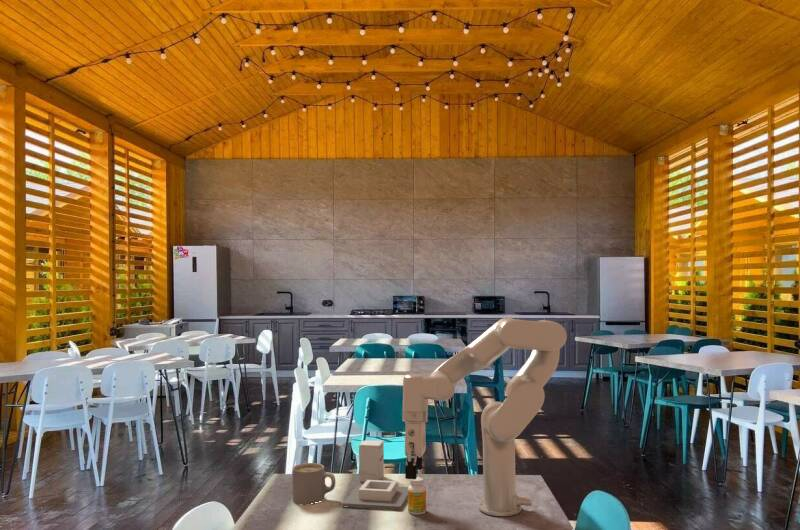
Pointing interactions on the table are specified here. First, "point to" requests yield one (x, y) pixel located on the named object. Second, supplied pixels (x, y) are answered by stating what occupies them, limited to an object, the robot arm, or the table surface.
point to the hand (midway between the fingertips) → (413, 473)
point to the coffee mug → (310, 483)
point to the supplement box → (371, 460)
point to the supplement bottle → (417, 496)
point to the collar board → (378, 495)
